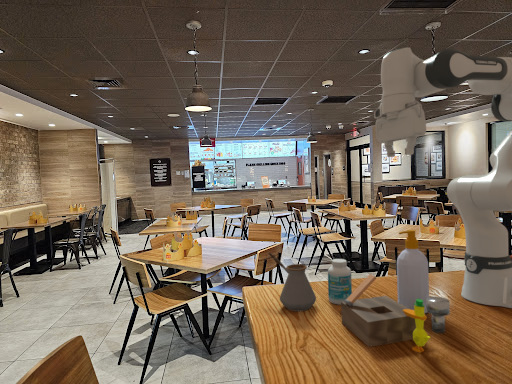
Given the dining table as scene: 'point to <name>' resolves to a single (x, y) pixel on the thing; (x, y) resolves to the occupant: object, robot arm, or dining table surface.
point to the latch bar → (360, 290)
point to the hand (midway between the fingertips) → (399, 155)
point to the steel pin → (438, 312)
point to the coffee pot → (296, 288)
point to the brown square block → (378, 320)
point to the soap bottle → (412, 273)
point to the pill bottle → (339, 281)
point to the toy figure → (418, 325)
